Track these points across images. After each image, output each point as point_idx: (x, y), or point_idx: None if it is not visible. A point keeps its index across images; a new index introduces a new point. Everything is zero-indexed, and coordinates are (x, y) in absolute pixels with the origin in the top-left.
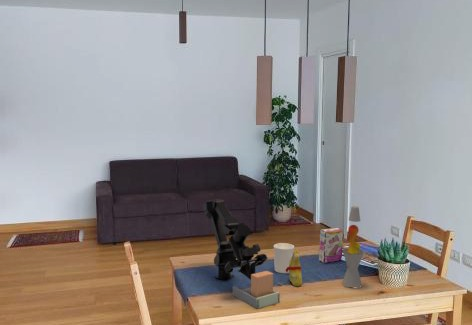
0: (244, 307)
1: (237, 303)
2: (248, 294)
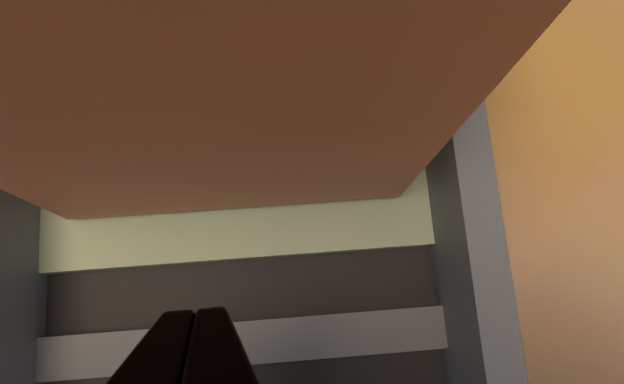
0: (552, 106)
1: (584, 267)
2: (475, 166)
